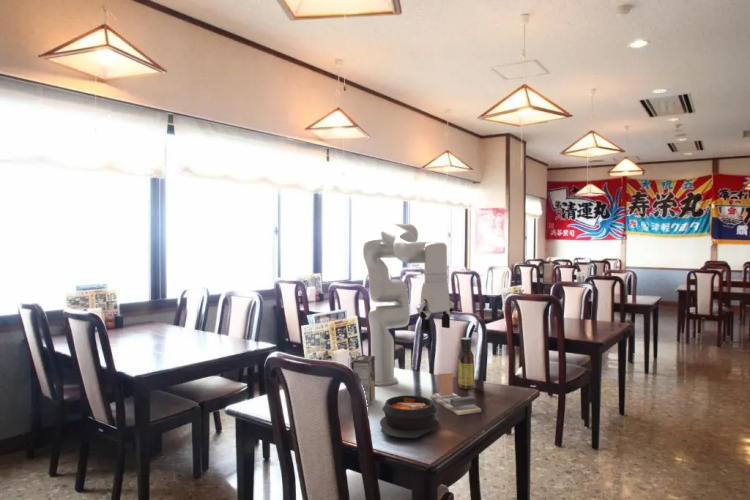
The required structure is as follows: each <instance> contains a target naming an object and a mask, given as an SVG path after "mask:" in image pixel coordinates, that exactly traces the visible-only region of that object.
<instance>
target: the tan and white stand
mask: <svg viewBox="0 0 750 500" xmlns="http://www.w3.org/2000/svg"><path fill="white" fill-rule="evenodd" d="M433 395H434V396H436V397H437V398H439V399H441V398H443V397H451V396H459V395H458V394H456V393H454V373H453V372H452V371H447V372H445V371H444V372H438V392H437V393H434V394H433Z"/></svg>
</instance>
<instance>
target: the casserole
mask: <svg viewBox="0 0 750 500" xmlns="http://www.w3.org/2000/svg"><path fill="white" fill-rule="evenodd" d="M433 401H434V400H433V399H431V398H427V397H426V396H424V397H423V396H419V395H408V394H407V395H398V396H397V395H396V396H392V397H390V398H387V400H386V401H385V403H384V405H383V406H382V412H383V413H384V416H383V417H382V418H381V419H380V420H379V425H380V427H381V431H380V432H381V433H382V434H383V435H386V436H389V437H393V438H398V439H400V438H401V439H417V438H420V437H421V436H423V435H425V434H427V433H430V432H432V431H435V430H436V429H438V428H439V427H440V422H439V420H438V419H437V416H436V413H437V407H436V406H435V404H434V402H433Z"/></svg>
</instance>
